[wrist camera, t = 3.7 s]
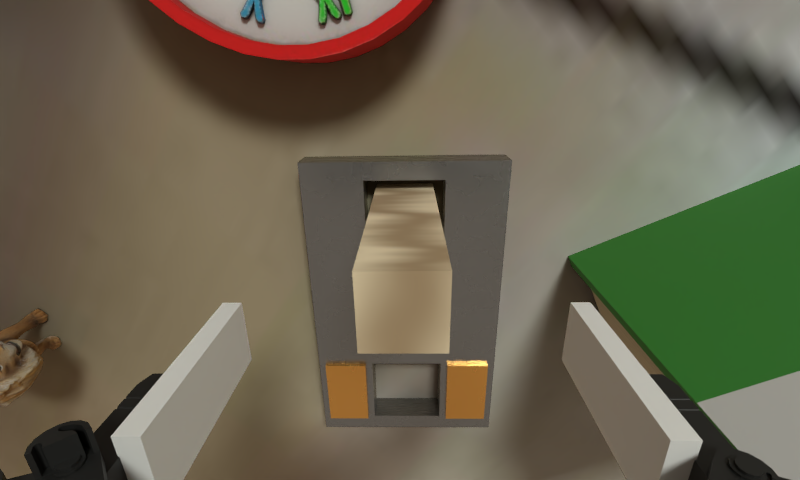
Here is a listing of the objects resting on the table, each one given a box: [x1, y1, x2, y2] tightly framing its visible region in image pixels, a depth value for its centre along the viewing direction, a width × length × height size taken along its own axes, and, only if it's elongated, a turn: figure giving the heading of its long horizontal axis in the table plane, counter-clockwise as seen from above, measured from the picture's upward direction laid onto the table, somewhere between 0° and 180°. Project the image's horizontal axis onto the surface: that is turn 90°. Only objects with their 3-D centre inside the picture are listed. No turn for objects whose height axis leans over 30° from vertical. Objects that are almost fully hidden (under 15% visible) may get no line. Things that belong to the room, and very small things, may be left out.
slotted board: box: [298, 155, 512, 427], centre depth 32 cm, size 14×23×2 cm, turn 1°
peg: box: [352, 184, 452, 354], centre depth 24 cm, size 4×4×14 cm
